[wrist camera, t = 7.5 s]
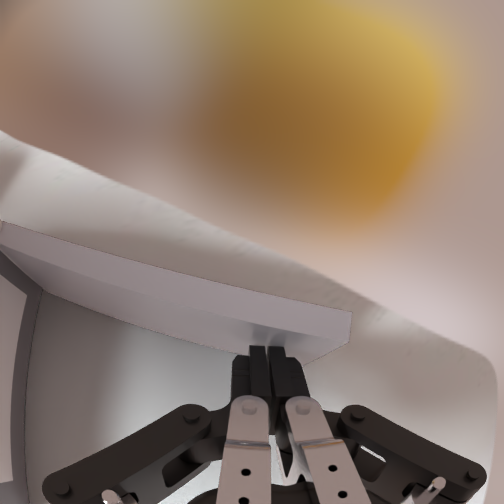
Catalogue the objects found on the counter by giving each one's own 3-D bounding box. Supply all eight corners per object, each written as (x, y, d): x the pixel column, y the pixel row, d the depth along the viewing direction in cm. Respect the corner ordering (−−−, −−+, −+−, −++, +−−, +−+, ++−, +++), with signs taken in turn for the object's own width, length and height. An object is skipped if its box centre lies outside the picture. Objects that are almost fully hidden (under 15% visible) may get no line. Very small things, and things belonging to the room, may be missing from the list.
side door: (304, 348, 17) (354, 310, 11) (300, 367, 17) (351, 340, 10) (49, 276, 18) (-8, 216, 11) (43, 290, 17) (-19, 234, 11)
